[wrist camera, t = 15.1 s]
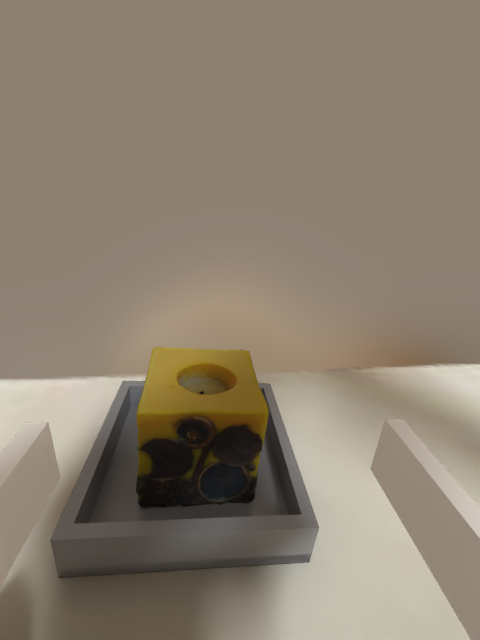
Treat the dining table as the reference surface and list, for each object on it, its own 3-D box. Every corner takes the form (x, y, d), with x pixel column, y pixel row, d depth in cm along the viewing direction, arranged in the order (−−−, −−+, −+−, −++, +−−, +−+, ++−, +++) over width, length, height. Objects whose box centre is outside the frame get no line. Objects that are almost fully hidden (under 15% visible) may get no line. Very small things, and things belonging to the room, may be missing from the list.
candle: (152, 424, 34) (150, 345, 30) (240, 423, 35) (249, 347, 31) (134, 512, 24) (128, 413, 21) (256, 505, 26) (271, 411, 22)
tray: (265, 409, 40) (269, 383, 38) (309, 562, 23) (319, 527, 21) (124, 408, 37) (122, 380, 36) (58, 577, 21) (50, 540, 19)
